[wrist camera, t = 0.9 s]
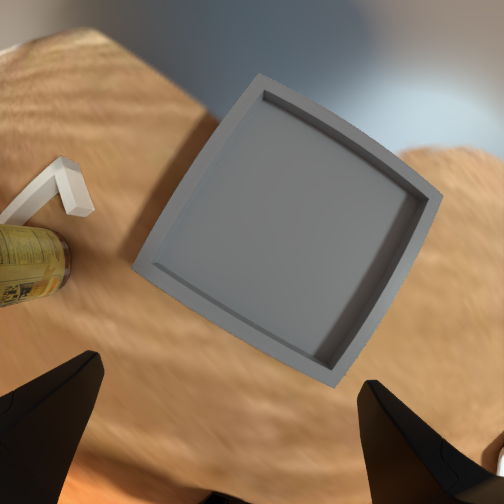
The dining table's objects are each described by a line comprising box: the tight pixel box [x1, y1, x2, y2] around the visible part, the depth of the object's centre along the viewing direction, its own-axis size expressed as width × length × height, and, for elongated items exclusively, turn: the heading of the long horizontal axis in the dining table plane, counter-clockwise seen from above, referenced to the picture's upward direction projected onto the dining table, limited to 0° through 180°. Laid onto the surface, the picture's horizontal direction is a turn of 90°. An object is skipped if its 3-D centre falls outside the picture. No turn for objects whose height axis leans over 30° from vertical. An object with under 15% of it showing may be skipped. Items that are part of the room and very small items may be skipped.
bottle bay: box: [0, 156, 95, 226], centre depth 21 cm, size 5×13×3 cm, turn 118°
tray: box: [131, 73, 443, 389], centre depth 21 cm, size 18×18×2 cm
